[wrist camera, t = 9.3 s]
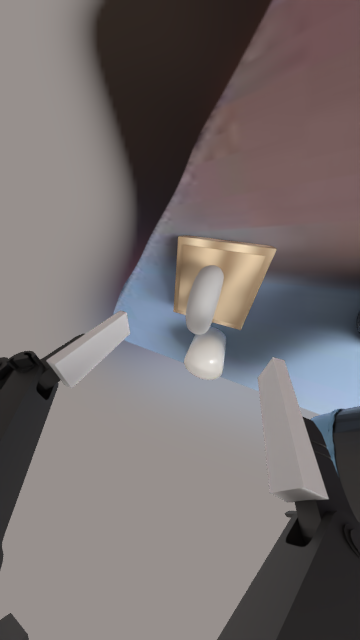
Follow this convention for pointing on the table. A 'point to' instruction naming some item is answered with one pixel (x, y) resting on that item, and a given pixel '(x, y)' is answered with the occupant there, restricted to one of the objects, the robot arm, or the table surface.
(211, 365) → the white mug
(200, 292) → the donut
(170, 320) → the table surface
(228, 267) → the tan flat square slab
